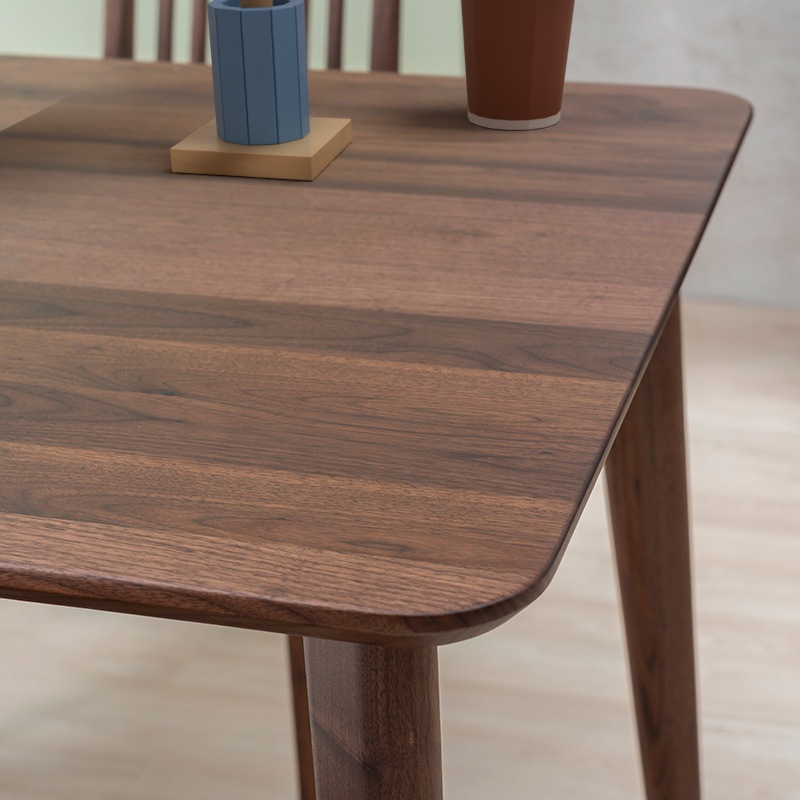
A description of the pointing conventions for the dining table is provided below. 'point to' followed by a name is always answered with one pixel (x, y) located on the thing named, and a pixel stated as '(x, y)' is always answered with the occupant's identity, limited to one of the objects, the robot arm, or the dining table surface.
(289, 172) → the tape stand
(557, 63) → the coffee cup
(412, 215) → the dining table surface
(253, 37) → the blue faceted pencil cup
